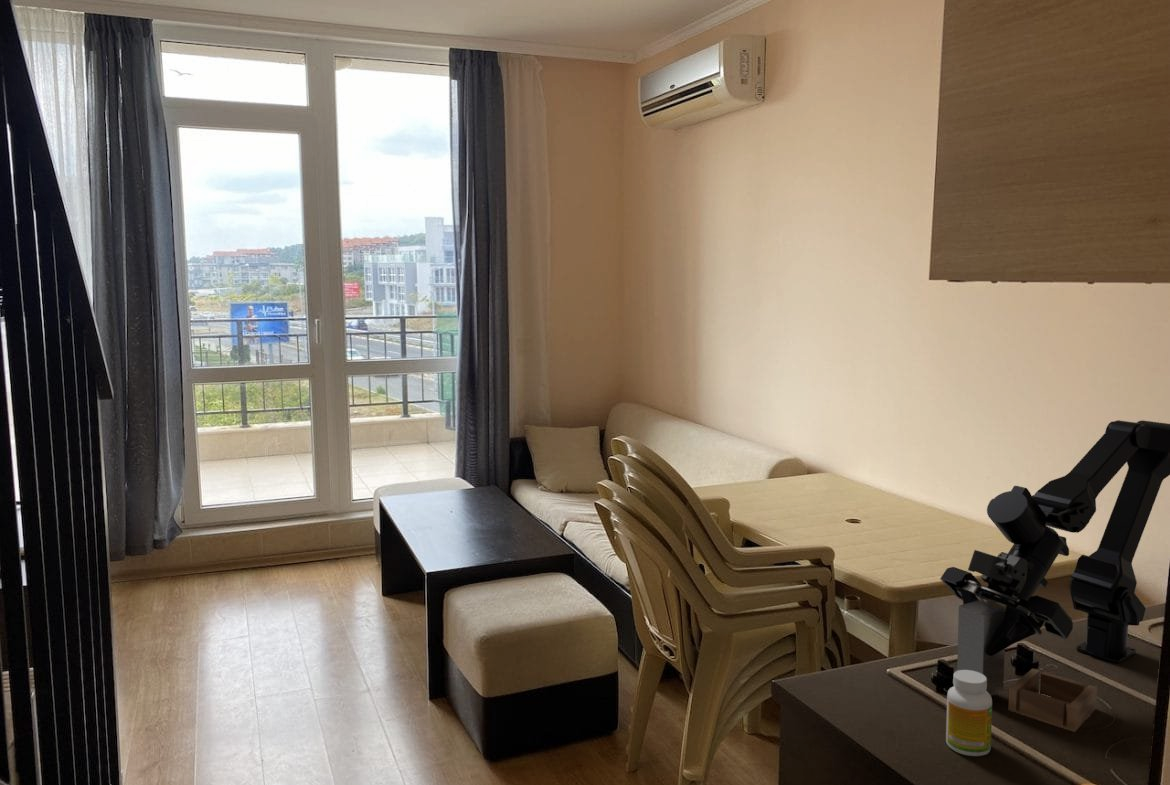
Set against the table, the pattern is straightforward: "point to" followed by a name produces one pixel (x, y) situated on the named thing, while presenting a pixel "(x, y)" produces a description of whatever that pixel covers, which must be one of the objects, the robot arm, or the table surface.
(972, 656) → the steel square block
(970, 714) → the supplement bottle
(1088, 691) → the wooden square frame
